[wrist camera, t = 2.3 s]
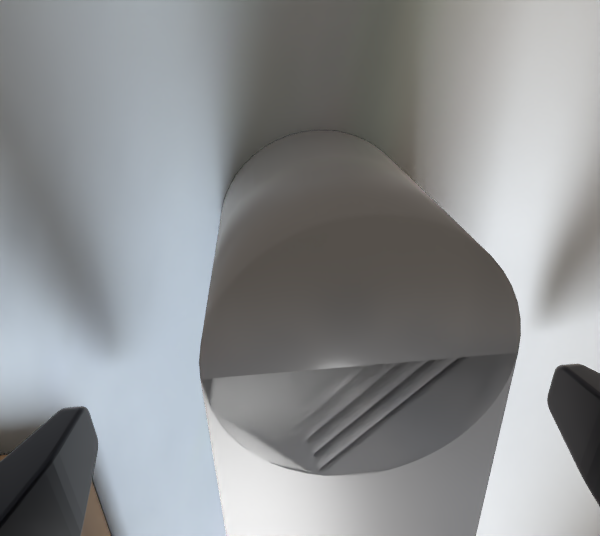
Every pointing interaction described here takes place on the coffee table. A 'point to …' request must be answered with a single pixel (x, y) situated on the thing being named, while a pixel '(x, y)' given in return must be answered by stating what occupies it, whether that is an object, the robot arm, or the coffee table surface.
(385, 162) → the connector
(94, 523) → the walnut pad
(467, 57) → the coffee table surface
